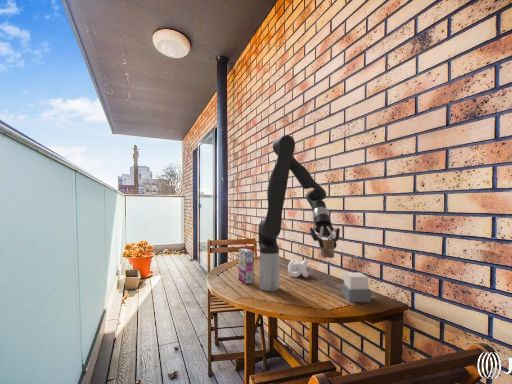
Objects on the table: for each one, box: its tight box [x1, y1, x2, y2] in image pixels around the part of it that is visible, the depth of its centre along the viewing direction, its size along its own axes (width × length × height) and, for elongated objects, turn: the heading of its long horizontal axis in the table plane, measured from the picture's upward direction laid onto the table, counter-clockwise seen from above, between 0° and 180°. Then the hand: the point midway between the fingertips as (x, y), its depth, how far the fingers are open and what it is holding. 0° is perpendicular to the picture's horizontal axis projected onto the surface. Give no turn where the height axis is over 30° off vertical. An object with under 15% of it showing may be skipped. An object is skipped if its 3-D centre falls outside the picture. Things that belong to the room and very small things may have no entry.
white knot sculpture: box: [287, 258, 309, 278], centre depth 142 cm, size 11×12×9 cm
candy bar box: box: [238, 248, 255, 285], centre depth 133 cm, size 11×5×16 cm, turn 22°
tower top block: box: [343, 272, 370, 289], centre depth 108 cm, size 8×8×5 cm
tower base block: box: [341, 282, 372, 303], centre depth 108 cm, size 9×9×5 cm
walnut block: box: [320, 239, 335, 259], centre depth 109 cm, size 4×4×7 cm
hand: (328, 247), depth 107 cm, fingers closed on walnut block, 4 cm apart
